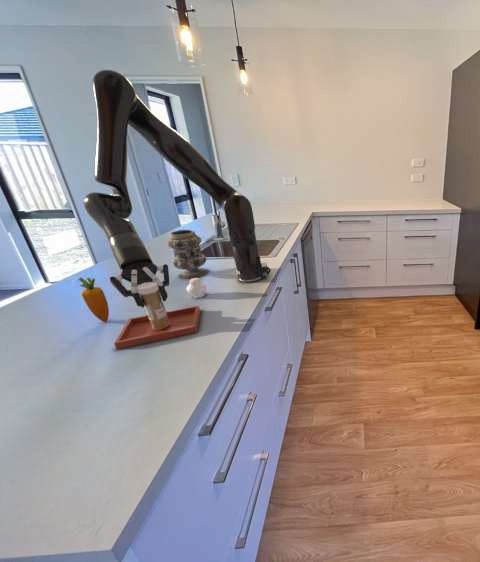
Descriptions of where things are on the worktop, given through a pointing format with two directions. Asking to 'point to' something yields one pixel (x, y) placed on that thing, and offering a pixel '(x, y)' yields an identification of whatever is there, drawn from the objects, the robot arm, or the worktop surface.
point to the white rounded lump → (196, 288)
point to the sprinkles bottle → (154, 305)
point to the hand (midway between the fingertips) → (154, 302)
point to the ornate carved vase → (187, 253)
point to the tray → (143, 332)
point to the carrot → (95, 299)
